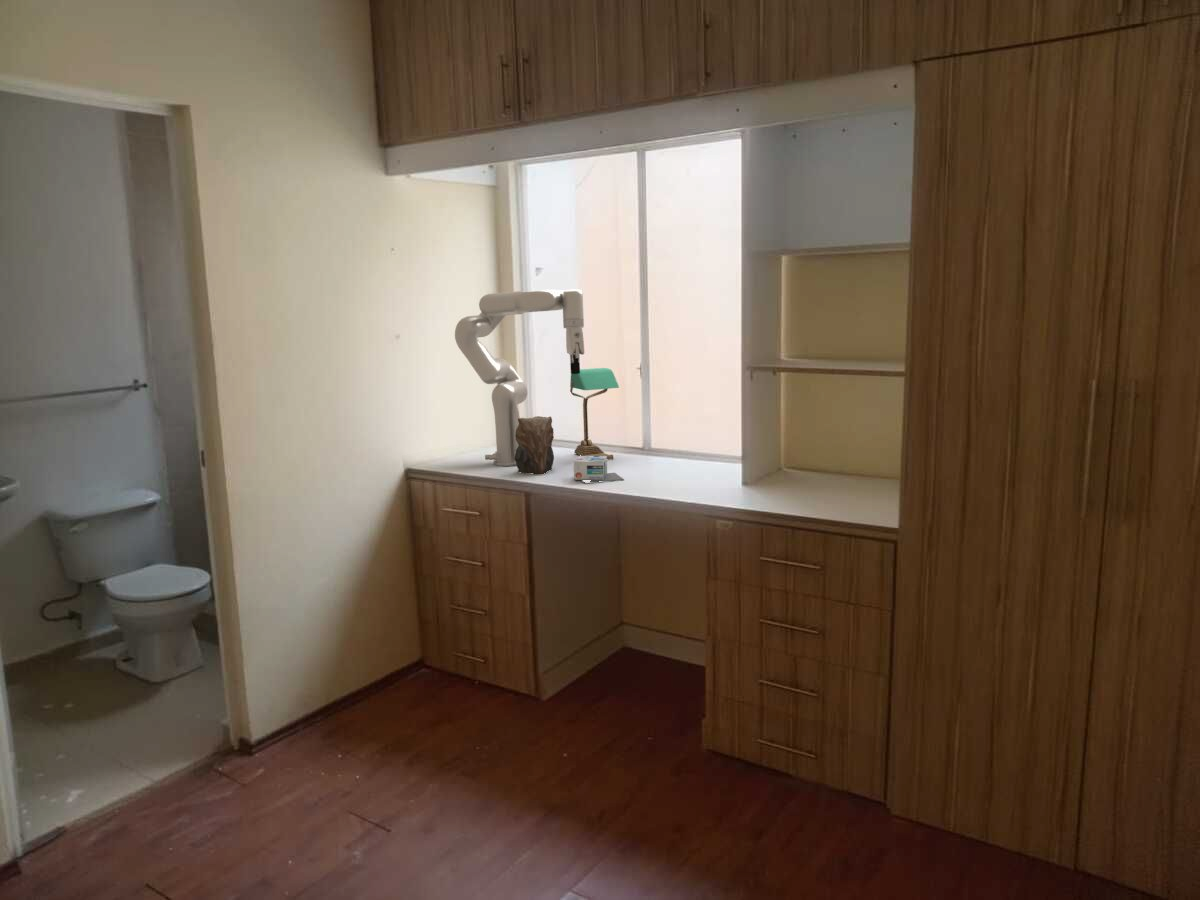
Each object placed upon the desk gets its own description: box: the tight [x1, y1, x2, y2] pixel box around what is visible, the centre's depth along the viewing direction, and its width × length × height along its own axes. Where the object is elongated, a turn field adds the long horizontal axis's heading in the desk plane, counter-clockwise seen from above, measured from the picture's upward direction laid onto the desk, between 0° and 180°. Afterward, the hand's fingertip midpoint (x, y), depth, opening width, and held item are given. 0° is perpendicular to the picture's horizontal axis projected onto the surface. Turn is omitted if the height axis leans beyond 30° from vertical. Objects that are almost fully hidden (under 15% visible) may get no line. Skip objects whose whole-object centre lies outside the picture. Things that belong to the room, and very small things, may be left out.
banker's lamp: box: [569, 367, 620, 460], centre depth 343 cm, size 16×21×35 cm
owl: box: [514, 416, 555, 475], centre depth 321 cm, size 13×13×20 cm
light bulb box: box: [573, 455, 608, 481], centre depth 306 cm, size 11×7×11 cm
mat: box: [590, 472, 625, 483], centre depth 305 cm, size 14×12×1 cm
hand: (575, 373), depth 322 cm, fingers closed
